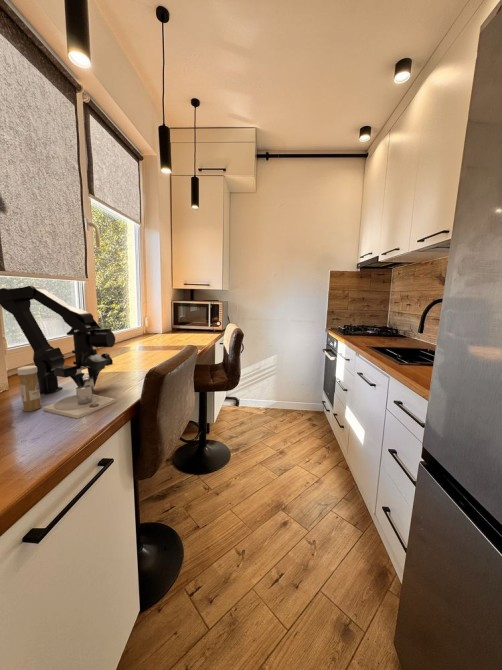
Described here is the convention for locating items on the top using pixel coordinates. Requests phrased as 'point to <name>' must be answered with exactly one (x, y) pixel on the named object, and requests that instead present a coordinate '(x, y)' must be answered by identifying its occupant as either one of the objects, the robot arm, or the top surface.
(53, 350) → the robot arm
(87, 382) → the cylinder
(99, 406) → the scale
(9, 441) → the top surface
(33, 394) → the sprinkles bottle
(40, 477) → the top surface
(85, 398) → the cylinder
